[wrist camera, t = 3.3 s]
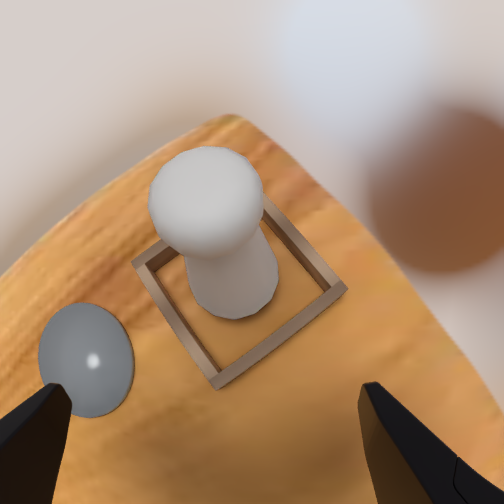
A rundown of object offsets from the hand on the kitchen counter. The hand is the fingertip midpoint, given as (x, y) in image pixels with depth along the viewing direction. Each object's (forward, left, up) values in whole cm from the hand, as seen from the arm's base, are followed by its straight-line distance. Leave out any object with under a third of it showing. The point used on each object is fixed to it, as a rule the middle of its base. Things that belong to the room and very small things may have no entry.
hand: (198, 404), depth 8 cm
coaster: (-2, +12, -13) cm, 18 cm away
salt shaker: (+7, +2, -13) cm, 15 cm away
